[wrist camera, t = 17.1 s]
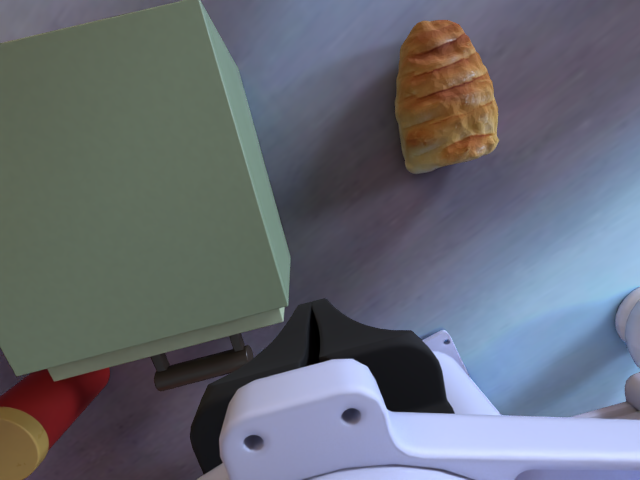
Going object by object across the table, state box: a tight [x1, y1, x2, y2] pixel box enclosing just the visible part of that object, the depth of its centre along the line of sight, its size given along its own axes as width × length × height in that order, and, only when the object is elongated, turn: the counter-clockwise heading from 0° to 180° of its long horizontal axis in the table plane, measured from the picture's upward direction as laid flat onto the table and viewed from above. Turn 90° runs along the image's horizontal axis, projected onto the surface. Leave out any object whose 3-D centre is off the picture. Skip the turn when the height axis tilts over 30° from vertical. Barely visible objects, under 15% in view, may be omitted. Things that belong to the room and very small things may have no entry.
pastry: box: [395, 20, 499, 174], centre depth 20 cm, size 9×7×4 cm
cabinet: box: [0, 0, 291, 376], centre depth 18 cm, size 14×14×9 cm
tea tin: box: [0, 367, 110, 480], centre depth 21 cm, size 5×5×7 cm
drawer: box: [48, 307, 285, 391], centre depth 18 cm, size 16×12×7 cm
